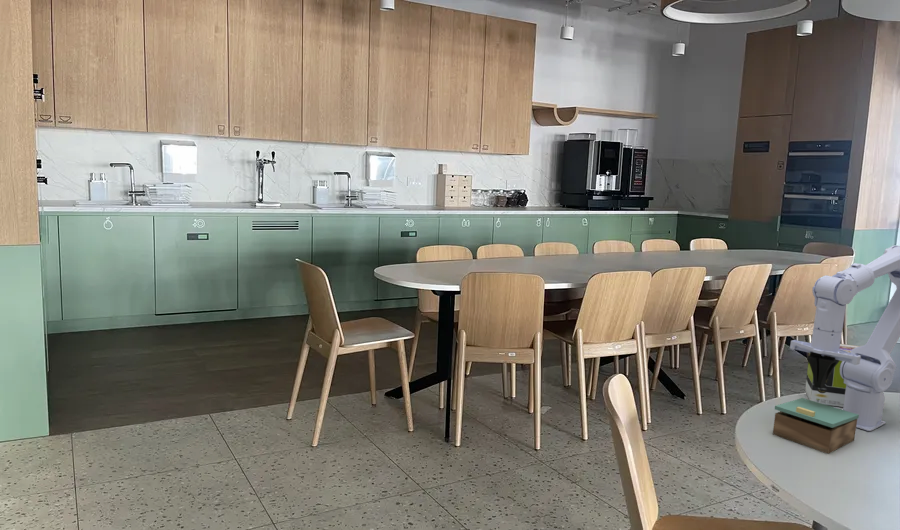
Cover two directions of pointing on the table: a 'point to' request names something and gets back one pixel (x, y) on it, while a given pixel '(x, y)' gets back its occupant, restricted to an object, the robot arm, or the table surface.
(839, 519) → the table surface
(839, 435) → the walnut box
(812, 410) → the lid
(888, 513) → the table surface
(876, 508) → the table surface
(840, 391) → the tea box
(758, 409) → the table surface
